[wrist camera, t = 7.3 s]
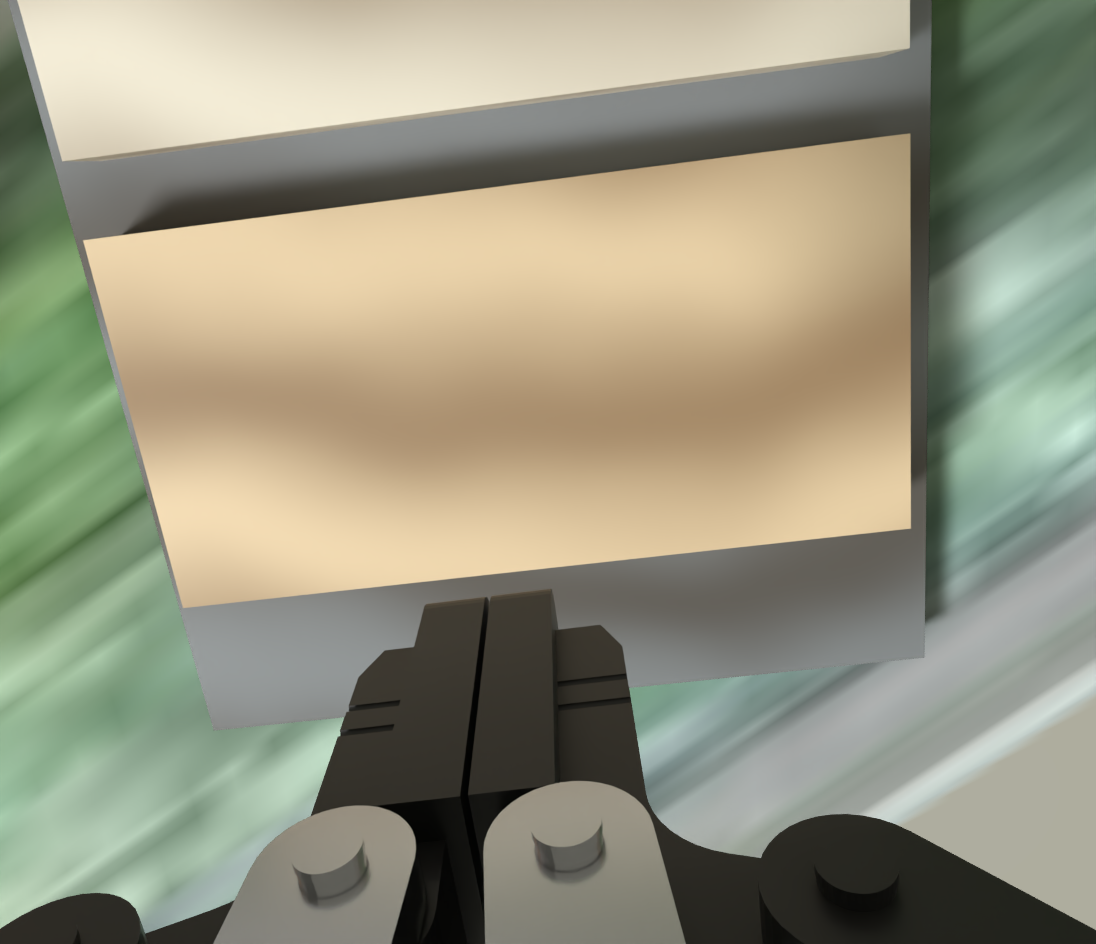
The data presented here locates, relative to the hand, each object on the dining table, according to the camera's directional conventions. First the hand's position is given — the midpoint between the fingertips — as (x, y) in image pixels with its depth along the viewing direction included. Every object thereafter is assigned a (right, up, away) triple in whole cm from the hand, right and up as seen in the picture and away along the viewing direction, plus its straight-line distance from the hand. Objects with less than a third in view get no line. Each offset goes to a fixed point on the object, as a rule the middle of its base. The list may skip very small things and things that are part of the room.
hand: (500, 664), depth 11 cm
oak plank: (0, +4, +9) cm, 10 cm away
